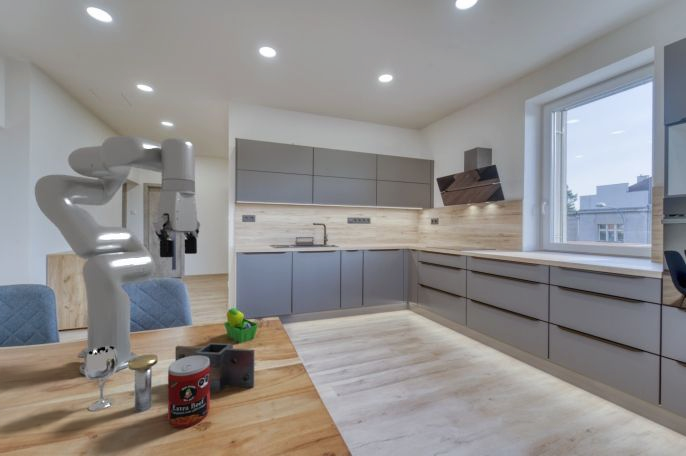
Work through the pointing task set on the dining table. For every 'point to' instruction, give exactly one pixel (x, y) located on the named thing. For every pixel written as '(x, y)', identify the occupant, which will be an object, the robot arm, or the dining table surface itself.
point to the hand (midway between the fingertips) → (179, 255)
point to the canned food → (188, 391)
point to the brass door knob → (142, 380)
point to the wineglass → (101, 371)
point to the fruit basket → (239, 326)
